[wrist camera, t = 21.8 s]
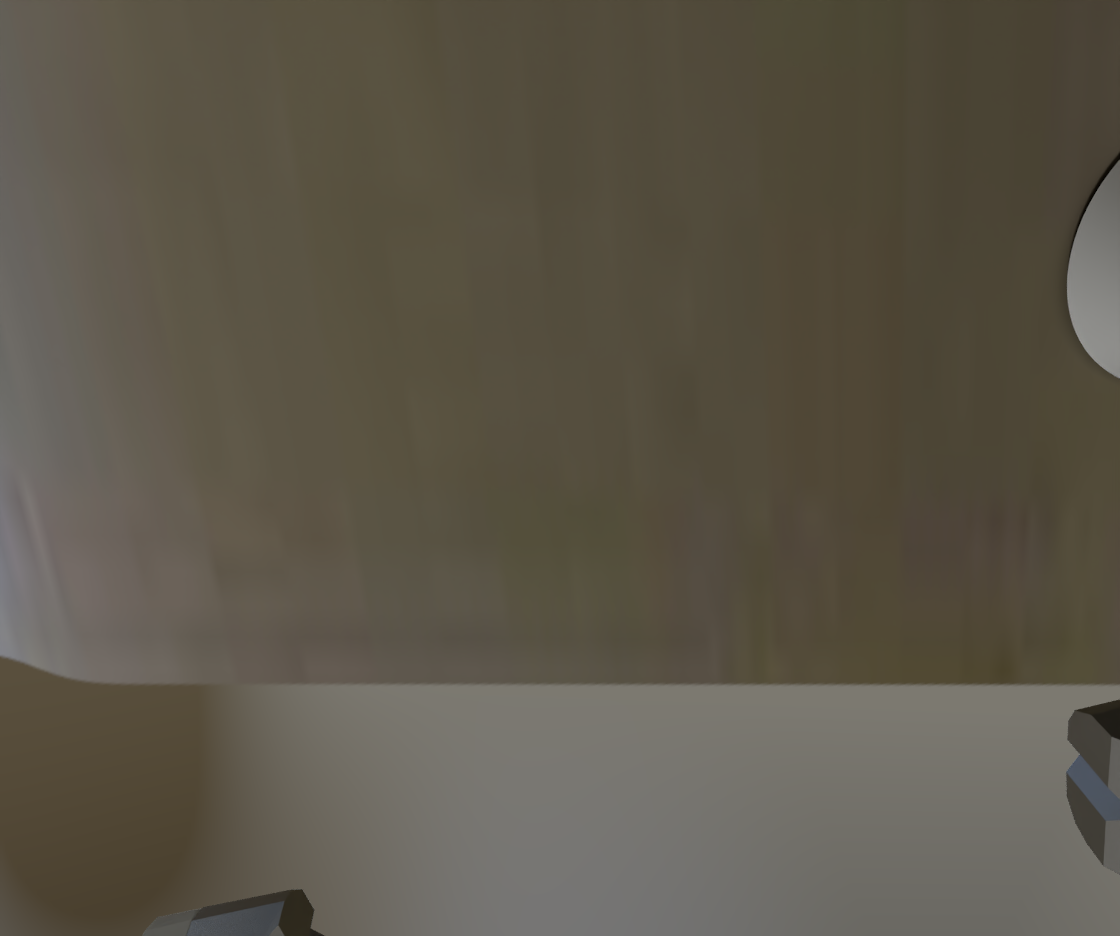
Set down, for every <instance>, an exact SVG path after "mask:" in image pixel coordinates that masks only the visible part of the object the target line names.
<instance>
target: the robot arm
mask: <svg viewBox="0 0 1120 936" xmlns="http://www.w3.org/2000/svg"><path fill="white" fill-rule="evenodd" d="M1067 298H1068V306H1069V312H1070V316H1071V320H1072V324H1073V326H1074V329H1075V332H1076V334H1077V336H1078V338H1079V340H1080V342H1081V344H1082V345H1083V347H1084V348H1085V350H1086V351H1087V352H1088V354H1089V355H1090V356H1091V357H1092V358H1093V360H1094V361H1095V362H1097V363H1098V364H1099V365H1100V366H1101V367H1102V368H1104V369H1105V370H1106V371H1108V372H1109V373H1111V374H1113V375H1114V376H1116V377H1118V378H1120V160H1119V161H1118V162H1117V163H1116V165H1115V166H1114V167H1113V168H1112V170H1111V171H1110V172H1109V174H1108V175H1107V176H1106V178H1105V179H1104V181H1103V182H1102V183H1101V185H1100V187H1099V188H1098V190H1097V191H1096V193H1095V195H1094V196H1093V198H1092V200H1091V202H1090V204H1089V206H1088V207H1087V210H1086V212H1085V214H1084V216H1083V218H1082V221H1081V223H1080V225H1079V228H1078V231H1077V234H1076V237H1075V240H1074V243H1073V247H1072V251H1071V255H1070V260H1069V267H1068V276H1067ZM1067 739H1068V741H1069V742H1070V743H1071V744H1072V746H1073V747H1074V748H1075V749H1076V750H1077V751H1078V753H1079V754H1080V755H1079V756H1078V758H1077V759H1076V760H1075V761H1074V763H1073V764H1072V765H1071V766H1070V768H1069V769H1068V771H1067V772H1066V780H1067V781H1066V782H1067V799H1068V802H1069V805H1070V808H1071V811H1072V814H1073V817H1074V820H1075V823H1076V825H1077V827H1078V829H1079V830H1080V832H1081V834H1082V836H1083V837H1084V839H1085V841H1086V843H1087V845H1088V846H1089V847H1090V849H1091V850H1092V851H1093V853H1094V854H1095V855H1096V857H1097V858H1098V859H1099V861H1100V862H1101V863H1102V865H1103V866H1105V867H1106V868H1108V869H1110V870H1112V871H1114V872H1116V873H1118V874H1120V700H1116V701H1112V702H1108V703H1104V704H1099V705H1095V706H1091V707H1087V708H1083V709H1078V710H1075V711H1074V713H1073V714H1072V716H1071V717H1070V719H1069V721H1068V738H1067ZM313 914H314V908H313V907H312V905H311V903H310V902H309V900H308V898H307V897H306V895H305V893H304V892H303V890H302V889H298V890H297V889H296V890H287V891H282V892H277V893H272V894H268V895H262V896H258V897H252V898H247V899H242V900H237V901H232V902H227V903H222V904H217V905H212V906H207V907H203V908H201V909H195V910H191V911H186V912H181V913H176V914H171V915H167V916H161V917H157V918H156V919H155V920H154V921H153V922H152V924H151V925H150V926H149V927H148V928H147V929H146V931H145V932H144V934H143V936H324V935H322V934H320V933H318V932H316V931H314V930H312V929H311V924H312V919H313Z"/></svg>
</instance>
